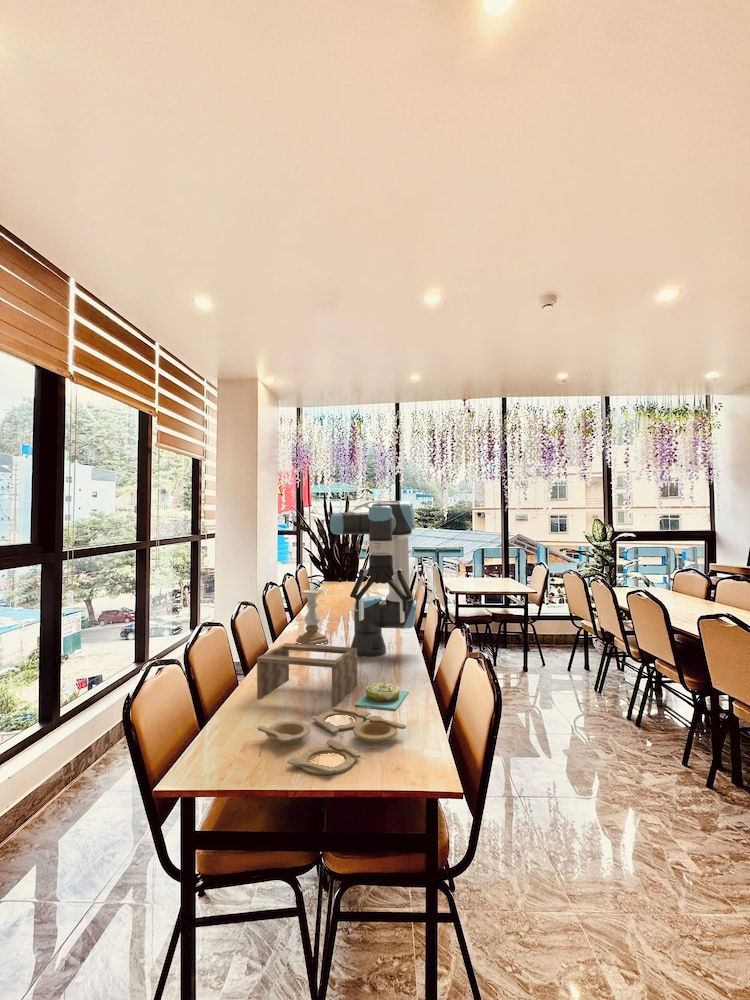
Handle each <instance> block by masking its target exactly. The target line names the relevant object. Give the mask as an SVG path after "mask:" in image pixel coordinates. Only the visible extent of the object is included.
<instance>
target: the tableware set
mask: <svg viewBox="0 0 750 1000" xmlns="http://www.w3.org/2000/svg"><path fill="white" fill-rule="evenodd" d="M334 715H348V716H351V717H353V718H354V719H355V722H353V723H352V722H351V724H347V725H339V726H335V725H333V724H331V723H330V722H325V720H326V719H327V718H328V717H331V716H334ZM364 718H368V721H364ZM312 720H313V721H314V722H316V723H317V725H318V726H319V727H321V728H323V729H326V730H328V731H329V732H330V733H332V734H337V733H338V732H339V731H347V730H351V729H353V730H352V731H353V734H354V736H355V737H357V738H358V739H360V740H362V742H363V743H365V744H366V745H371V744H379V745H383V744H385V742H386V743H387V742H388V741H389V739H391V738H393V737H395V736H396V735H397V734H398V733H397V732H398V729H401V730H404V729H406V728H407V725H406V724H403V723H399V722H396V721H395V722H394V721H391V720H387V719H384V718H383V717H382V716H380V715H374V714H373V715H372V714H371V712H369V711H368V712H367V711H361V710H360V711H357V710H356V711H355V710H351V709H346V708H343V707H339V706H336V707H332V711H327V712H324V713H322V714H320V715H319V716H317V715H314V716H312ZM256 727H257V728H256V729H257V731H259V732H262V733H264V734H266V736H267V737H268V738H269V739H271V740H273V741H274V743H275V742H276V743H277V745H278V744H279V745H278V746H281V745H291V746H294V745H293V744H295V745H297V743H298V744H299V743H300V742H301V741H302V740H303V738H304V737H306V736H308V735H309V734H310V732H311V730H312V729H311V726H310V725H309V724H307V723H305V722H303V721H296V720H295V721H294V720H288V721H279V722H276V723H273V724H272V725H270V726H268V727H267V726H265V725H259V726H256ZM382 743H383V744H382ZM326 744H327V745H326V746H317V747H314V748H311V749H308V750H306V751H304V752H303V753H301V755H300V756H293V757H291V758H290V759H288V760H287V761H286V763H287V764H289V765H292V766H296V767H300V768H301V769H302V770H303V771H305V772H308V773H311V774H314V775H334V774H333V773H336V774H339V773H338V772H340V773H343V772H346V771H348V770H350V767H351V766H354V764H355V762H356V759H359V758H361V753H359V752H358V751H356V750H354V749H352V748H350V747H349V746H347V745H344V744H342V743H340V742H338V741H337V740H335V739H333V738H329V739H327V740H326ZM328 753H330V754H331V753H335V754H339V755H341V756H343V757H344V759H345V762H344V763H342V764H340V765H338V766H335V767H329V766H324V765H319V764H314V763H310V762H312V761H310V760H313V759H315V758H316V757H317V756H320V755H321V754H328ZM322 756H323V755H322ZM318 758H319V757H318ZM313 761H314V760H313ZM351 768H352V767H351ZM347 769H348V770H347ZM345 770H346V771H345ZM342 771H343V772H342Z"/></svg>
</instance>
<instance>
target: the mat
mask: <svg viewBox="0 0 750 1000" xmlns="http://www.w3.org/2000/svg"><path fill="white" fill-rule="evenodd" d="M407 694H408V695H409V690H401V689H400V691H399V697H398V698H397V699H395V700H392V701H380V702H379V701H374V700H372V699H369V697H368V696H367V694H366V692H365V693H364V694H363V695H362V697H361V698H359V699H358V701H356V703H354V707H356V706H361V707H360V708H366V707H369V708H368V709H375V708H379V709H378V710H385V709H390V710H389V711H395V710H396V711H397V710H398V709H399V707H400V706H401V704H402V703H403V702H404V700H405V699H404V698H406V697H407V696H408V695H407ZM402 701H403V702H402ZM397 708H398V709H397Z"/></svg>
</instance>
